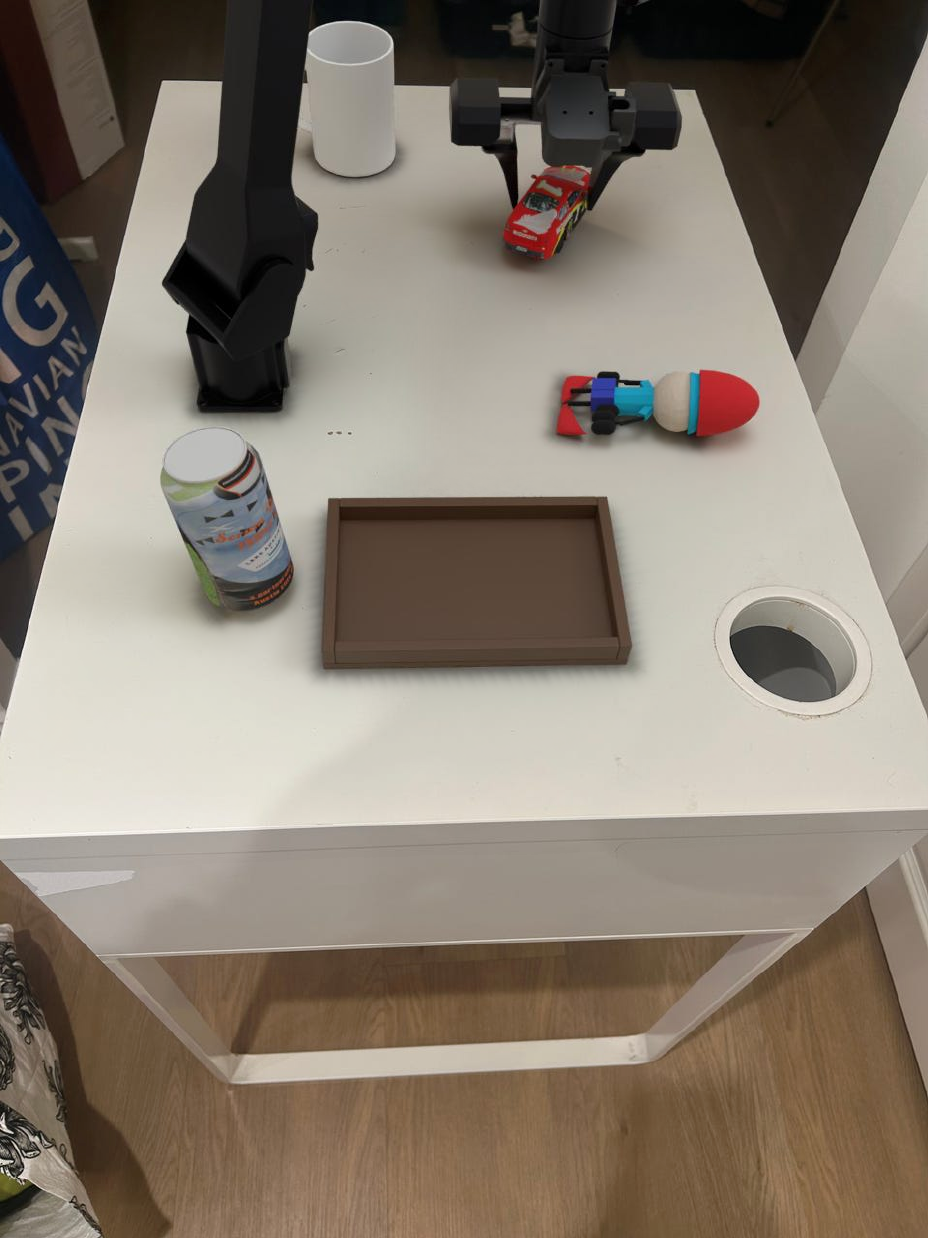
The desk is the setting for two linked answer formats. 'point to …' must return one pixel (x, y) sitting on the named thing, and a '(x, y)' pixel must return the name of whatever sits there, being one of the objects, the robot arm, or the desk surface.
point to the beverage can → (227, 517)
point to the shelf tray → (472, 583)
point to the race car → (547, 212)
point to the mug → (351, 98)
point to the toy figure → (662, 402)
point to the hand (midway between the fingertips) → (551, 207)
